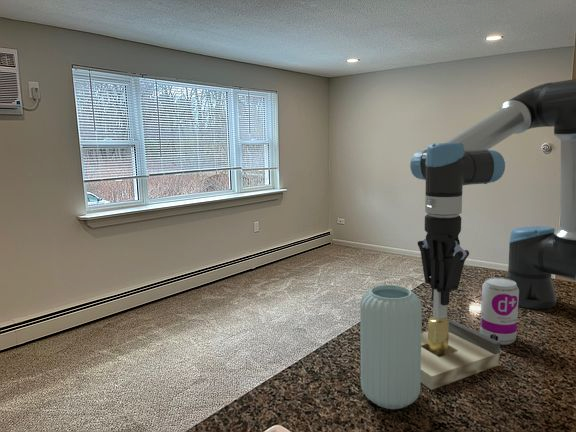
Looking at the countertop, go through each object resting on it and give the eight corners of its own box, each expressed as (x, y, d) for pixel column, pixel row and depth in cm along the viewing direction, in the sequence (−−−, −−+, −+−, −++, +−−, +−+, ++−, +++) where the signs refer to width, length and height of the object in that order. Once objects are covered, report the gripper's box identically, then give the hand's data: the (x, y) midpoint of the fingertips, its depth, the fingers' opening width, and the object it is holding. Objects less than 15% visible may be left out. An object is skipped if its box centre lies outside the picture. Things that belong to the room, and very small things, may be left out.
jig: (444, 337, 108) (445, 316, 107) (498, 365, 94) (500, 342, 93) (382, 355, 100) (382, 334, 99) (431, 389, 86) (432, 365, 85)
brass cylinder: (437, 354, 100) (438, 314, 98) (451, 362, 96) (453, 321, 94) (423, 359, 98) (424, 318, 96) (437, 367, 94) (438, 325, 92)
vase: (357, 381, 90) (356, 282, 86) (411, 380, 89) (413, 280, 85) (365, 416, 78) (364, 303, 75) (427, 415, 78) (430, 301, 74)
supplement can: (520, 346, 102) (524, 288, 100) (484, 344, 104) (487, 286, 101) (510, 332, 110) (513, 277, 107) (476, 330, 112) (478, 276, 109)
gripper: (408, 212, 96) (407, 310, 100) (453, 220, 84) (449, 331, 88) (433, 209, 99) (431, 304, 103) (480, 216, 87) (475, 323, 91)
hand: (439, 316), depth 95 cm, fingers closed
